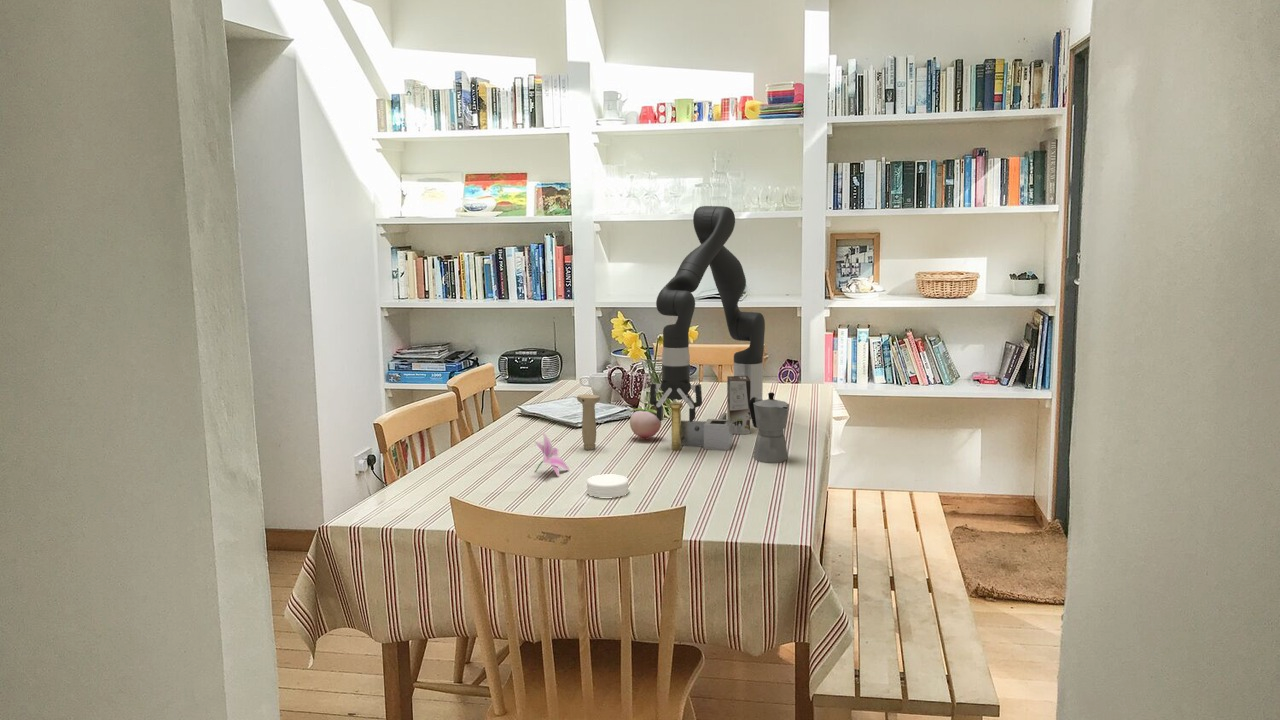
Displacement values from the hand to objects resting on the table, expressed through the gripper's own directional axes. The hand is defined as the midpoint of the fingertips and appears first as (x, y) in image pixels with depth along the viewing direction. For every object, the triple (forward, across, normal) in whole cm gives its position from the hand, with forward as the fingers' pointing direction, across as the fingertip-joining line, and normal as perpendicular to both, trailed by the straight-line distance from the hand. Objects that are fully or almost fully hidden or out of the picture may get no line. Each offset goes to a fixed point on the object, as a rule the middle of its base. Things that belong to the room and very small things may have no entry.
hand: (675, 420), depth 268 cm
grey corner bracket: (+8, -7, -10) cm, 14 cm away
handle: (+8, +24, +4) cm, 26 cm away
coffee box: (+8, -14, -25) cm, 30 cm away
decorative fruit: (+8, +11, -9) cm, 17 cm away
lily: (+9, +27, +30) cm, 41 cm away
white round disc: (+9, +8, +43) cm, 44 cm away
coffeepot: (+8, -26, +4) cm, 28 cm away
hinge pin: (+8, 0, 0) cm, 8 cm away
